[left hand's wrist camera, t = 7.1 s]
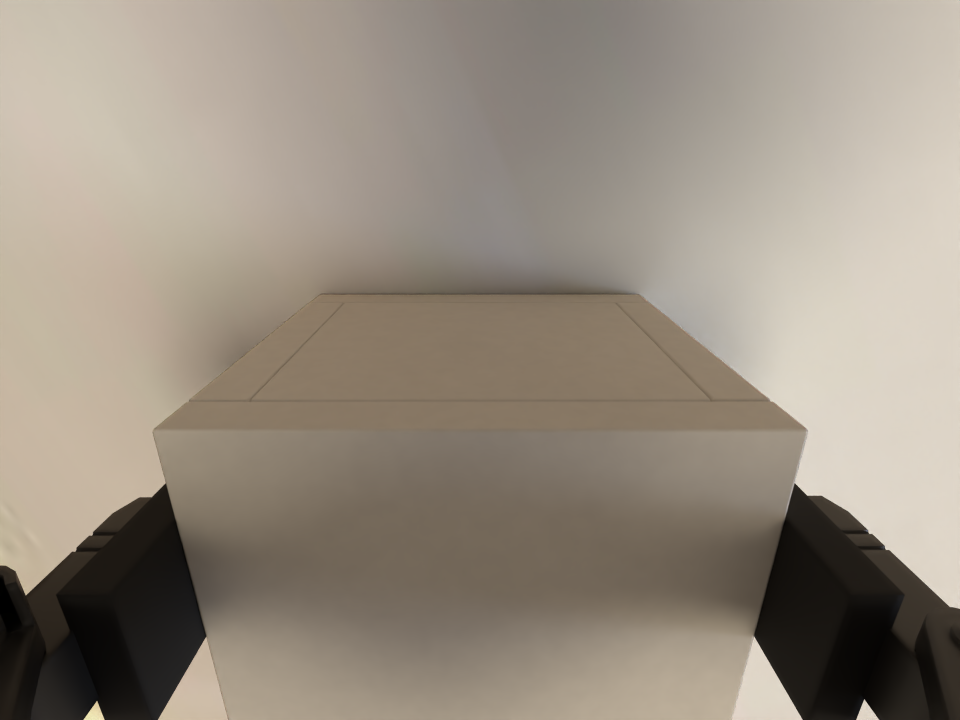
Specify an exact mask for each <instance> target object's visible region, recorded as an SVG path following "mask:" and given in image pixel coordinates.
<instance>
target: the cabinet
mask: <svg viewBox="0 0 960 720" xmlns="http://www.w3.org/2000/svg"><path fill="white" fill-rule="evenodd" d="M807 434H808V430H807V429H806V428H805V427H804V426H803V425H802V424H800V423H799V422H798V421H797V420H795V419H794V418H793V417H792V416H790V415H789V414H788V413H787V412H785V411H784V410H783V409H782V408H780V407H779V406H778V405H777V404H775V403H774V402H770V399H769V398H767V397H766V396H765V395H764V394H762V393H761V392H760V391H759V390H758V389H756V388H755V387H754V386H753V385H751V384H750V383H749V382H748V381H746V380H745V379H744V378H743V377H741V376H740V375H739V374H738V373H736V372H735V371H734V370H733V369H731V368H730V367H729V366H728V365H727V364H725V363H724V362H723V361H722V360H720V359H719V358H718V357H717V356H715V355H714V354H713V353H712V352H710V351H709V350H708V349H707V348H705V347H704V346H703V345H702V344H700V343H699V342H698V341H697V340H696V339H694V338H693V337H692V336H691V335H689V334H688V333H687V332H686V331H684V330H683V329H682V328H681V327H679V326H678V325H677V324H676V323H674V322H673V321H672V320H671V319H670V318H668V317H667V316H666V315H665V314H663V313H662V312H661V311H660V310H658V309H657V308H656V307H655V306H653V305H652V304H651V303H650V302H648V301H647V300H646V299H645V298H643V297H642V296H641V295H611V294H321V295H319V296H317V297H316V298H315V299H314V300H312V301H311V302H310V303H308V304H307V305H306V306H304V307H303V308H302V309H301V310H300V311H298V312H297V313H296V314H295V315H293V316H292V317H291V318H290V319H288V320H287V321H286V322H285V323H284V324H282V325H281V326H280V327H279V328H277V329H276V330H275V331H274V332H272V333H271V334H270V335H269V336H267V337H266V338H265V339H264V340H263V341H261V342H260V343H259V344H258V345H256V346H255V347H254V348H253V349H251V350H250V351H249V352H248V353H247V354H245V355H244V356H243V357H242V358H240V359H239V360H238V361H237V362H235V363H234V364H233V365H232V366H231V367H229V368H228V369H227V370H226V371H224V372H223V373H222V374H221V375H219V376H218V377H217V378H216V379H214V380H213V381H212V382H211V383H210V384H208V385H207V386H206V387H205V388H203V389H202V390H201V391H200V392H198V393H197V394H196V395H195V396H194V397H192V398H191V399H190V400H189V402H187V403H185V404H184V405H183V406H182V407H180V408H179V409H178V410H177V411H175V412H174V413H173V414H172V415H170V416H169V417H168V418H167V419H166V420H164V421H163V422H162V423H161V424H159V425H158V426H157V427H156V428H154V430H153V436H154V439H155V443H156V447H157V451H158V455H159V458H160V462H161V466H162V470H163V474H164V477H165V481H166V485H167V489H168V493H169V496H170V500H171V504H172V508H173V512H174V515H175V519H176V523H177V527H178V531H179V534H180V538H181V542H182V546H183V549H184V553H185V557H186V561H187V565H188V568H189V572H190V576H191V580H192V584H193V587H194V591H195V595H196V599H197V603H198V606H199V610H200V614H201V618H202V622H203V625H204V629H205V633H206V637H207V641H208V644H209V648H210V652H211V656H212V660H213V663H214V667H215V671H216V675H217V678H218V682H219V686H220V690H221V694H222V697H223V701H224V705H225V709H226V713H227V716H228V720H732V717H733V713H734V709H735V706H736V702H737V698H738V694H739V691H740V687H741V683H742V679H743V676H744V672H745V668H746V664H747V660H748V657H749V653H750V649H751V645H752V642H753V638H754V634H755V630H756V626H757V623H758V619H759V615H760V611H761V608H762V604H763V600H764V596H765V593H766V589H767V585H768V581H769V577H770V574H771V570H772V566H773V562H774V559H775V555H776V551H777V547H778V543H779V540H780V536H781V532H782V528H783V525H784V521H785V517H786V513H787V510H788V506H789V502H790V498H791V494H792V491H793V487H794V483H795V479H796V476H797V472H798V468H799V464H800V460H801V457H802V453H803V449H804V445H805V442H806V438H807Z"/></svg>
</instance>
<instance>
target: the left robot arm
mask: <svg viewBox="0 0 960 720" xmlns="http://www.w3.org/2000/svg"><path fill="white" fill-rule="evenodd" d="M754 637H755V638H756V640H757V642H758V644H759V645H760V647H761V649H762V650H763V652H764V654H765V656H766V657H767V659H768V661H769V662H770V664H771V666H772V668H773V669H774V671H775V673H776V675H777V676H778V678H779V680H780V681H781V683H782V685H783V687H784V688H785V690H786V692H787V693H788V695H789V697H790V699H791V700H792V702H793V704H794V705H795V707H796V709H797V711H798V712H799V714H800V716H801V717H802V719H803V720H856V719H857V716H858V714H859V711H860V708H861V706H862V703H863V701H864V699H865V701H866V702H867V703H868V705H869V706H870V707H871V709H872V710H873V712H874V713H875V714H876V716H877V717H878V719H879V720H960V609H958V608H953V607H949V606H948V605H947V604H946V603H945V602H944V601H943V600H942V599H941V598H940V597H938V596H937V595H936V594H935V593H934V592H933V591H932V590H931V589H930V588H929V587H928V586H927V585H926V584H925V583H924V582H923V581H921V580H920V579H919V578H918V577H917V576H916V575H915V574H914V573H913V572H912V571H911V570H910V569H909V568H908V567H907V566H906V565H904V564H903V563H902V562H901V561H900V560H899V559H898V558H897V557H896V556H895V555H894V554H893V553H892V552H891V551H890V550H886V549H885V546H884V545H883V544H882V543H881V542H880V541H879V540H878V539H877V538H876V537H875V536H874V535H873V534H869V533H868V530H867V529H866V528H865V527H864V526H863V525H862V524H861V523H860V522H859V521H858V520H857V519H856V518H854V517H853V516H852V515H851V514H850V513H849V512H848V511H846V510H845V509H843V508H841V507H839V506H838V505H836V504H834V503H833V502H831V501H829V500H828V499H826V498H824V497H823V496H807V495H806V494H805V493H804V492H803V491H802V490H801V489H800V488H799V487H798V486H797V485H796V484H795V483H794V487H793V491H792V494H791V498H790V502H789V506H788V510H787V513H786V517H785V521H784V525H783V528H782V532H781V536H780V540H779V543H778V547H777V551H776V555H775V559H774V562H773V566H772V570H771V574H770V577H769V581H768V585H767V589H766V593H765V596H764V600H763V604H762V608H761V611H760V615H759V619H758V623H757V626H756V630H755V634H754ZM205 638H206V633H205V629H204V625H203V622H202V618H201V614H200V610H199V606H198V603H197V599H196V595H195V591H194V587H193V584H192V580H191V576H190V572H189V568H188V565H187V561H186V557H185V553H184V549H183V546H182V542H181V538H180V534H179V531H178V527H177V523H176V519H175V515H174V512H173V508H172V504H171V500H170V496H169V493H168V489H167V485H166V484H165V485H164V486H163V487H162V488H161V489H160V490H159V491H158V492H157V493H156V494H155V495H154V496H153V497H139V498H138V499H136V500H134V501H133V502H131V503H129V504H128V505H126V506H124V507H123V508H121V509H119V510H118V511H116V512H114V513H113V514H112V515H111V516H110V517H108V518H107V519H106V520H105V521H104V522H103V523H102V524H101V525H100V526H99V527H98V528H97V529H96V530H95V531H94V532H93V535H92V536H88V537H87V538H86V539H85V540H84V541H83V542H82V543H81V544H80V545H79V546H78V547H77V550H76V552H72V553H70V554H69V555H68V556H67V557H66V558H65V559H64V560H63V561H62V562H61V563H60V564H59V565H58V566H57V567H56V568H55V569H54V570H53V571H51V572H50V573H49V574H48V575H47V576H46V577H45V578H44V579H43V580H42V581H41V582H40V583H39V584H38V585H37V586H36V587H35V588H34V589H32V590H31V591H30V592H29V593H28V594H27V595H25V593H24V591H23V588H22V586H21V584H20V581H19V579H18V576H17V574H16V572H15V571H14V570H12V569H10V568H9V567H7V566H0V720H84V718H85V717H86V715H87V714H88V713H89V711H90V710H91V708H92V707H93V706H94V704H95V703H96V701H98V704H99V706H100V709H101V712H102V714H103V717H104V719H105V720H158V718H159V717H160V715H161V713H162V712H163V710H164V708H165V706H166V705H167V703H168V701H169V700H170V698H171V696H172V694H173V693H174V691H175V689H176V687H177V686H178V684H179V682H180V681H181V679H182V677H183V675H184V674H185V672H186V670H187V669H188V667H189V665H190V663H191V662H192V660H193V658H194V657H195V655H196V653H197V651H198V650H199V648H200V646H201V644H202V643H203V641H204V639H205Z"/></svg>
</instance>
